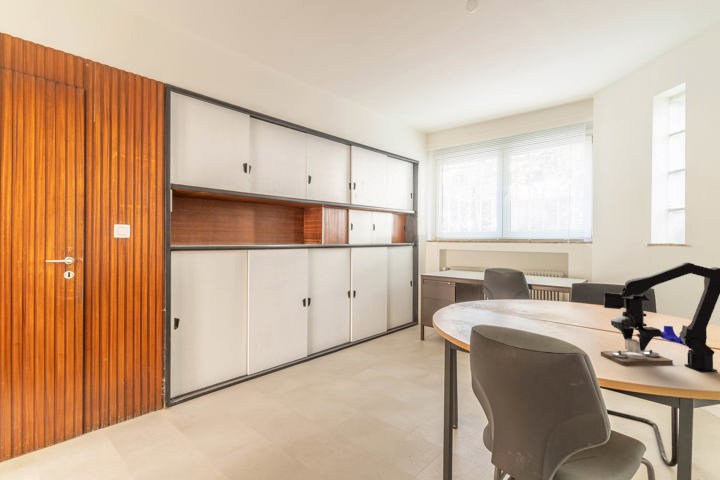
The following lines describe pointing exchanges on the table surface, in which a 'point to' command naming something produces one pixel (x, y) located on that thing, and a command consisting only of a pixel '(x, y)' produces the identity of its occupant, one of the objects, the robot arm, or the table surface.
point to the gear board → (636, 358)
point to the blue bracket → (671, 335)
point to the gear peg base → (646, 353)
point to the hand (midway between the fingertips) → (635, 347)
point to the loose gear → (633, 345)
